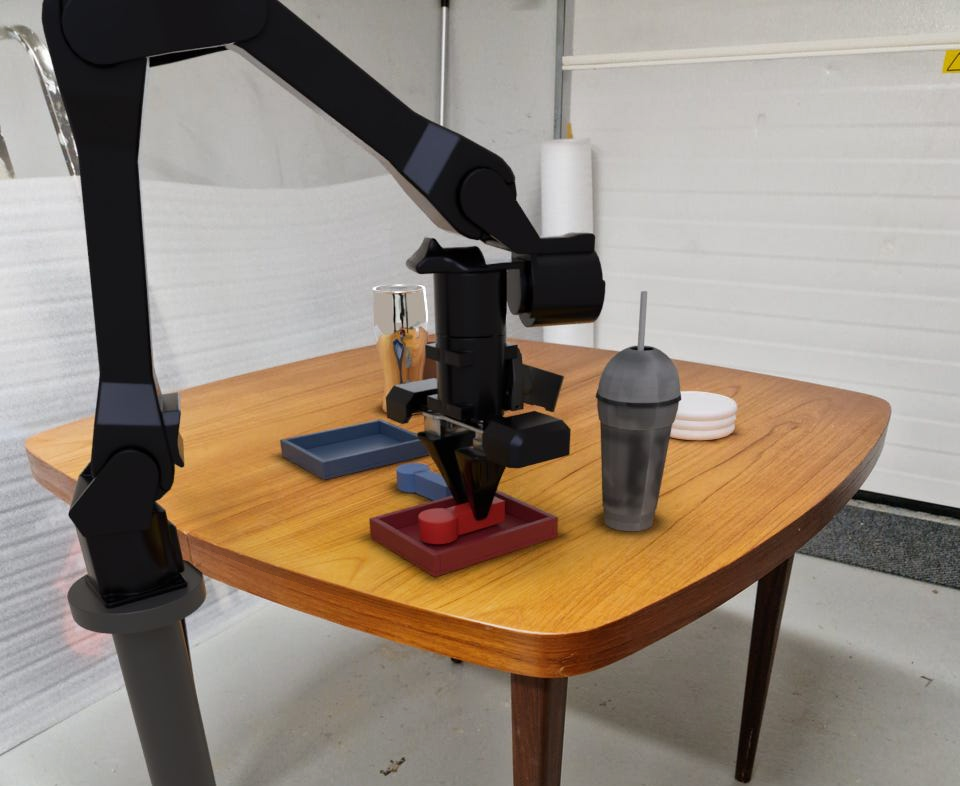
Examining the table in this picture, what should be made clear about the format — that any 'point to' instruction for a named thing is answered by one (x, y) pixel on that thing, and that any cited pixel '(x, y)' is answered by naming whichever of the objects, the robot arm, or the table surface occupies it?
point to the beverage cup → (635, 430)
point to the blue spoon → (421, 481)
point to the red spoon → (456, 521)
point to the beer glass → (400, 333)
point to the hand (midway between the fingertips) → (473, 515)
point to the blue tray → (352, 448)
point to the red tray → (463, 535)
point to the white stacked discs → (704, 416)
